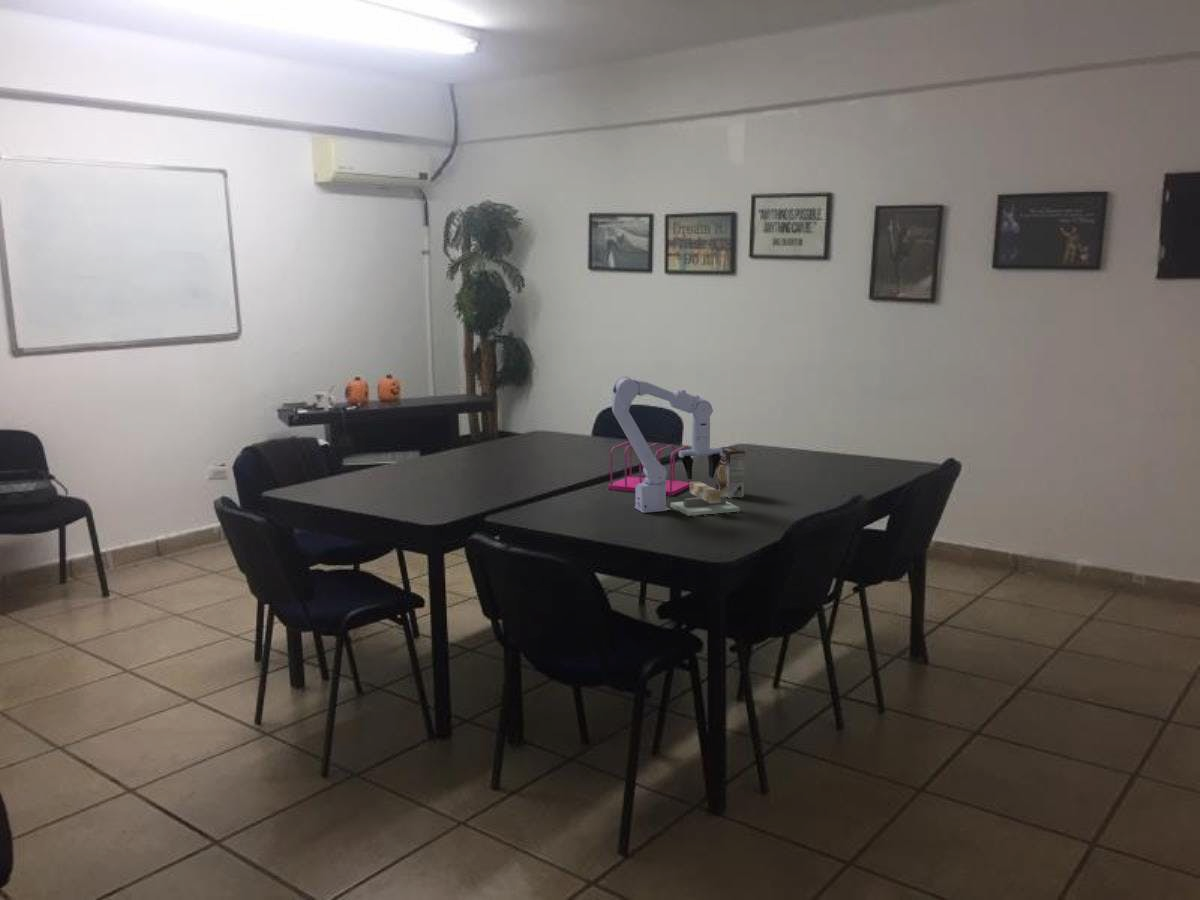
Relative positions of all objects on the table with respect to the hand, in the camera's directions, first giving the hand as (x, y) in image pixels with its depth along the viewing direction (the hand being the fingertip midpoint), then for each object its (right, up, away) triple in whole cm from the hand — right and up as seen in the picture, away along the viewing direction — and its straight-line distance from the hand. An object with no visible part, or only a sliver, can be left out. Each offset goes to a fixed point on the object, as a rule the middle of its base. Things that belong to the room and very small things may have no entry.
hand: (700, 477), depth 311 cm
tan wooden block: (+1, -6, -1) cm, 7 cm away
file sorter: (-15, -5, +31) cm, 35 cm away
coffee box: (+12, -7, +19) cm, 24 cm away
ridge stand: (+1, -10, -1) cm, 10 cm away
